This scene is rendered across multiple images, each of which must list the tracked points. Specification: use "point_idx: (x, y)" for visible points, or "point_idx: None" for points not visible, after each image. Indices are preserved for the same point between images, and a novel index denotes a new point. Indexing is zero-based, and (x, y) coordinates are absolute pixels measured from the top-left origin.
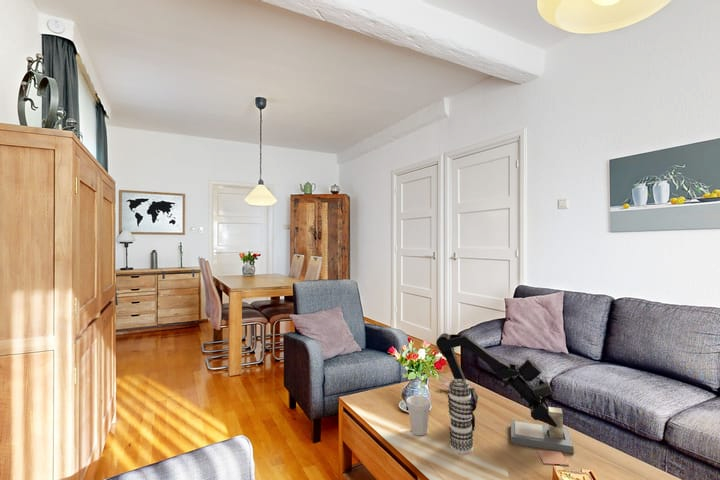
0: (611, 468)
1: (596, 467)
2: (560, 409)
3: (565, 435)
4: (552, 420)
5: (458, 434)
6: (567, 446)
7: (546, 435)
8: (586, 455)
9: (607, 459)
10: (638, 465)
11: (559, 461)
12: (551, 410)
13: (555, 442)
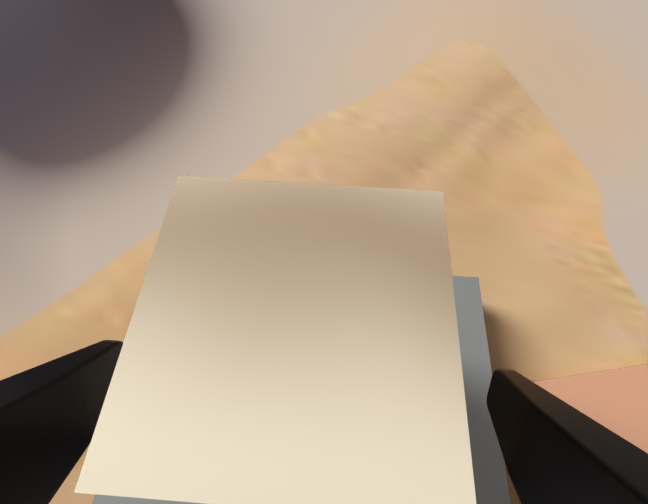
0: (529, 149)
1: (562, 209)
2: (236, 195)
3: None
4: (639, 458)
5: None
6: (479, 322)
7: None
8: (447, 228)
9: (443, 144)
10: (440, 57)
11: None
12: (357, 426)
13: (474, 418)
